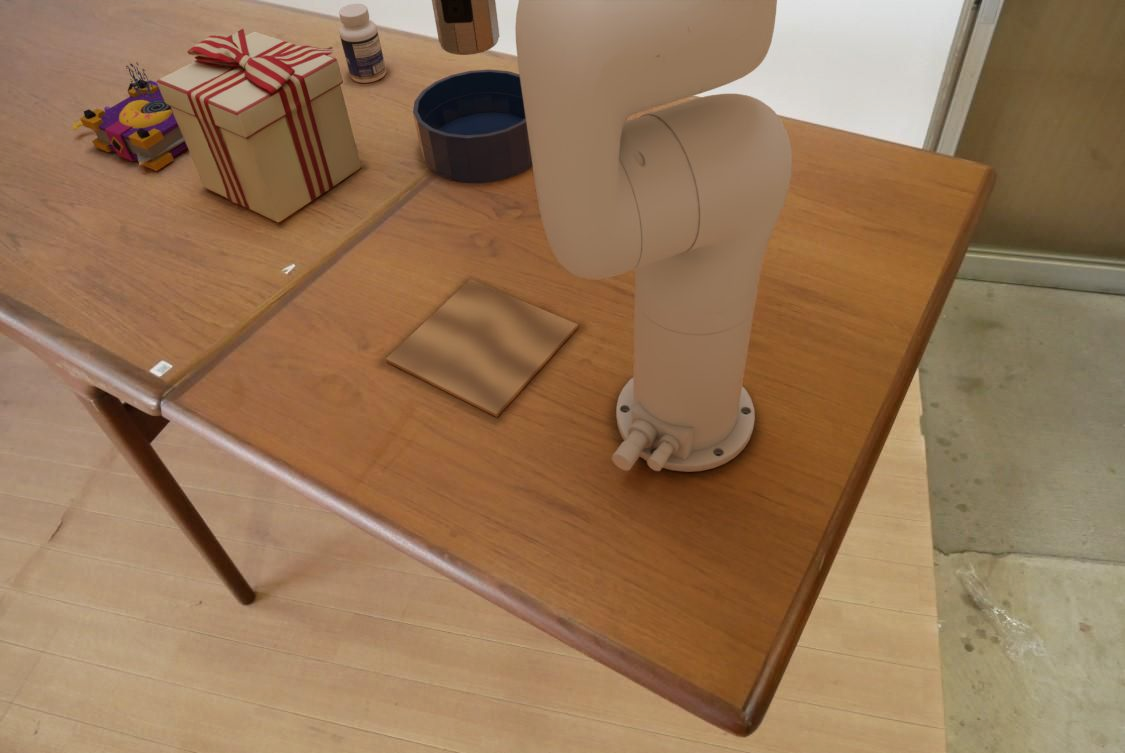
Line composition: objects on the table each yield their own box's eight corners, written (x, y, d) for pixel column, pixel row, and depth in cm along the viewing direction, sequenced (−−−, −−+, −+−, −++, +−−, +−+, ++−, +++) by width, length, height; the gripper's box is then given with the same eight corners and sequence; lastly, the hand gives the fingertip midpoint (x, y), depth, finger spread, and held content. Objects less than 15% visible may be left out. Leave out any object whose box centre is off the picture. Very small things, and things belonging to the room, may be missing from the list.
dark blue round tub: (496, 197, 103) (490, 151, 98) (397, 160, 109) (386, 115, 104) (569, 133, 111) (567, 88, 106) (473, 103, 118) (466, 59, 113)
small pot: (475, 60, 95) (463, -22, 88) (427, 47, 98) (412, -33, 91) (511, 35, 98) (502, -45, 92) (464, 23, 101) (452, -55, 95)
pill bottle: (348, 70, 126) (331, 5, 119) (383, 62, 127) (369, -2, 120) (353, 87, 123) (336, 21, 116) (389, 79, 124) (375, 14, 116)
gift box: (384, 151, 111) (353, 23, 98) (287, 230, 100) (238, 98, 88) (289, 121, 117) (248, -3, 104) (189, 192, 107) (130, 64, 94)
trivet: (497, 417, 79) (496, 414, 79) (386, 362, 85) (385, 358, 84) (578, 327, 87) (577, 324, 86) (471, 282, 92) (470, 278, 92)
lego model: (148, 94, 125) (110, 12, 116) (269, 135, 115) (238, 49, 106) (64, 143, 117) (17, 59, 107) (187, 192, 107) (147, 104, 98)
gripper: (462, -151, 76) (487, 41, 89) (487, -202, 88) (506, -26, 101) (381, -147, 77) (417, 43, 90) (416, -198, 88) (444, -24, 101)
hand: (464, 5), depth 95 cm, fingers closed on small pot, 7 cm apart
